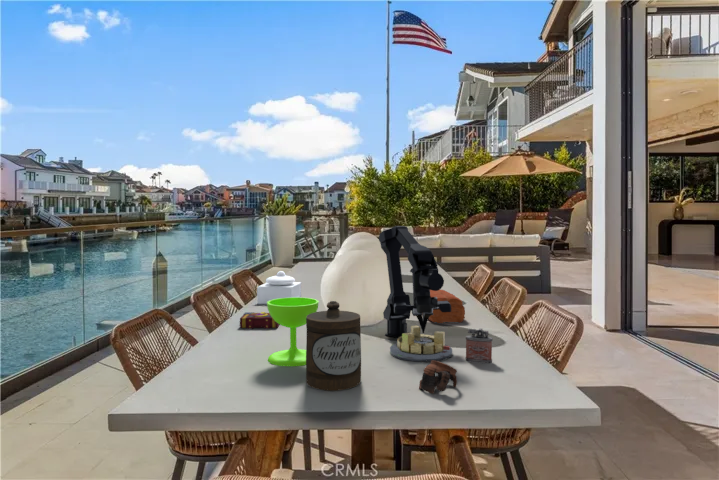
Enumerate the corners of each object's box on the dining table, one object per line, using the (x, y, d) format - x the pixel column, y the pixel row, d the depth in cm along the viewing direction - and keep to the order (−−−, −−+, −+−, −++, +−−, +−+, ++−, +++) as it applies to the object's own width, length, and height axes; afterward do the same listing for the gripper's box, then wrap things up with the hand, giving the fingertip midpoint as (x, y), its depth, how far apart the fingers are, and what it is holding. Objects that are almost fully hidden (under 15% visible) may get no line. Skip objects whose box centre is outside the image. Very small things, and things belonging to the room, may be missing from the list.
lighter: (492, 361, 159) (493, 328, 159) (491, 364, 156) (492, 331, 155) (466, 358, 162) (466, 326, 161) (464, 361, 159) (464, 329, 158)
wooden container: (316, 394, 130) (316, 308, 129) (299, 377, 144) (298, 298, 143) (370, 386, 136) (370, 303, 135) (348, 370, 150) (348, 295, 149)
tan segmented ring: (392, 351, 163) (392, 334, 163) (404, 340, 178) (404, 324, 177) (445, 356, 158) (445, 338, 158) (453, 344, 172) (453, 327, 172)
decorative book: (277, 329, 203) (277, 316, 203) (236, 329, 203) (236, 316, 203) (281, 322, 215) (281, 310, 214) (242, 323, 214) (242, 311, 214)
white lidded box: (257, 304, 256) (257, 272, 256) (269, 298, 274) (269, 268, 273) (291, 305, 254) (291, 273, 253) (301, 299, 271) (301, 268, 270)
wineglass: (277, 369, 151) (276, 308, 150) (261, 355, 165) (260, 299, 164) (327, 361, 158) (327, 303, 157) (307, 349, 172) (307, 295, 171)
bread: (449, 310, 240) (450, 287, 240) (467, 323, 214) (467, 297, 213) (416, 311, 239) (417, 288, 238) (430, 323, 212) (430, 298, 211)
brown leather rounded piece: (411, 386, 138) (422, 357, 140) (442, 400, 139) (453, 371, 141) (427, 390, 126) (439, 358, 129) (461, 405, 127) (472, 373, 130)
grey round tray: (378, 355, 165) (378, 342, 165) (407, 342, 182) (407, 330, 182) (437, 365, 154) (437, 351, 154) (461, 350, 171) (461, 337, 171)
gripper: (394, 292, 165) (396, 340, 166) (453, 289, 165) (455, 337, 166) (392, 286, 176) (394, 331, 177) (447, 284, 176) (449, 329, 177)
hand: (423, 332), depth 174 cm, fingers closed
